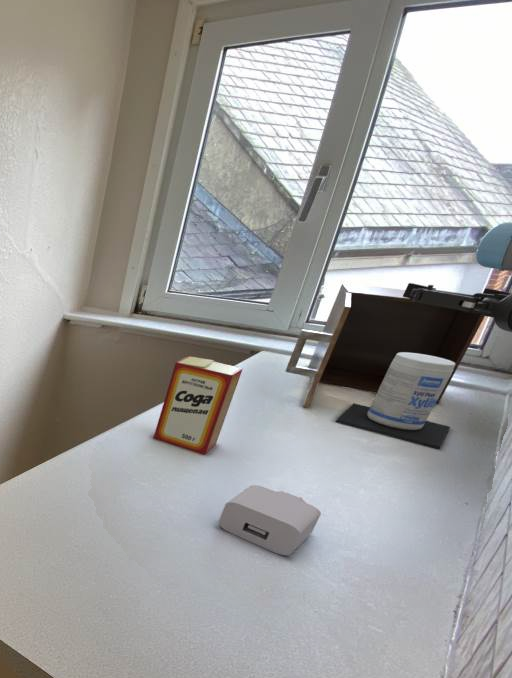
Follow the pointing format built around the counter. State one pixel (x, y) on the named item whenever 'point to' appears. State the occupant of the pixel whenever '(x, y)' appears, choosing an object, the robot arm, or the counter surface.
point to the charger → (269, 518)
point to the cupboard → (390, 335)
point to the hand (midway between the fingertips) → (445, 292)
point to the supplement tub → (410, 390)
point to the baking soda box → (197, 403)
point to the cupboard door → (325, 354)
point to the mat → (425, 436)
